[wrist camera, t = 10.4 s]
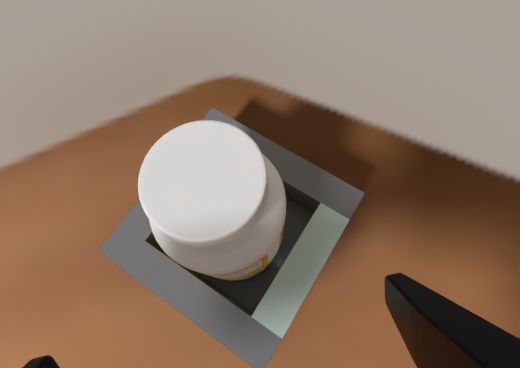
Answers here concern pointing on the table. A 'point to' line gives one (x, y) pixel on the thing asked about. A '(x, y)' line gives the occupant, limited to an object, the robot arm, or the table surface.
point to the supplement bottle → (213, 200)
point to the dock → (262, 285)
